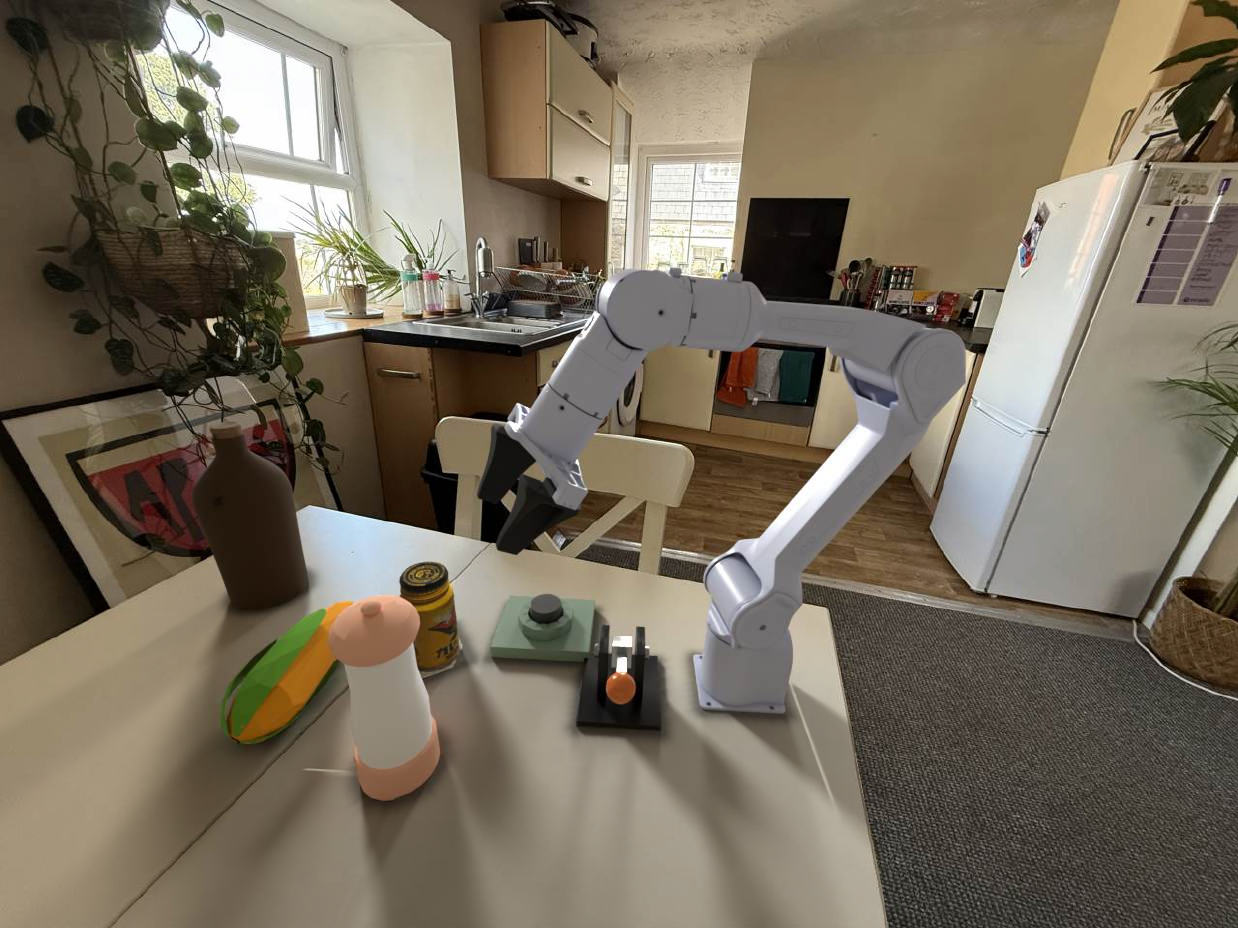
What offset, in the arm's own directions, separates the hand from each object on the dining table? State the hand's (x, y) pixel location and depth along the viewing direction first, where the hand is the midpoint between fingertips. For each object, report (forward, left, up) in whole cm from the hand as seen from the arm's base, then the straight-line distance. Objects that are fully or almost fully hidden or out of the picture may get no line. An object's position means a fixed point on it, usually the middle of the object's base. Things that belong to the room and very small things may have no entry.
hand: (495, 523), depth 45 cm
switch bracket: (-12, -3, -23) cm, 27 cm away
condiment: (+12, -7, -24) cm, 27 cm away
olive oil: (+39, -18, -24) cm, 49 cm away
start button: (-2, -12, -20) cm, 24 cm away
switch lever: (-12, +1, -17) cm, 21 cm away
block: (-2, -12, -23) cm, 27 cm away
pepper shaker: (+9, +7, -24) cm, 26 cm away
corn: (+24, -2, -24) cm, 34 cm away
